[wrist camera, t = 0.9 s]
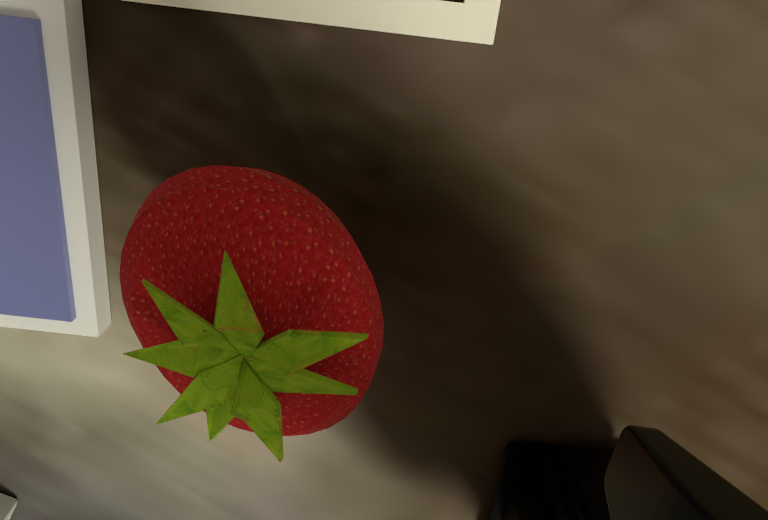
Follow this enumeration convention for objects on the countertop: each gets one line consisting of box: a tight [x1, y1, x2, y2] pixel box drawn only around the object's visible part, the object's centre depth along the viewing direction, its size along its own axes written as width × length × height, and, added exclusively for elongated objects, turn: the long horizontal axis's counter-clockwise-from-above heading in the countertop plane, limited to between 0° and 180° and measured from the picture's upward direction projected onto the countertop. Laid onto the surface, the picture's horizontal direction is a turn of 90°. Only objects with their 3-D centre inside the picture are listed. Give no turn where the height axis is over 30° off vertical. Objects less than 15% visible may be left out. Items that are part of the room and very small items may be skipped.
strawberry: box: [120, 165, 384, 462], centre depth 15 cm, size 6×8×10 cm
